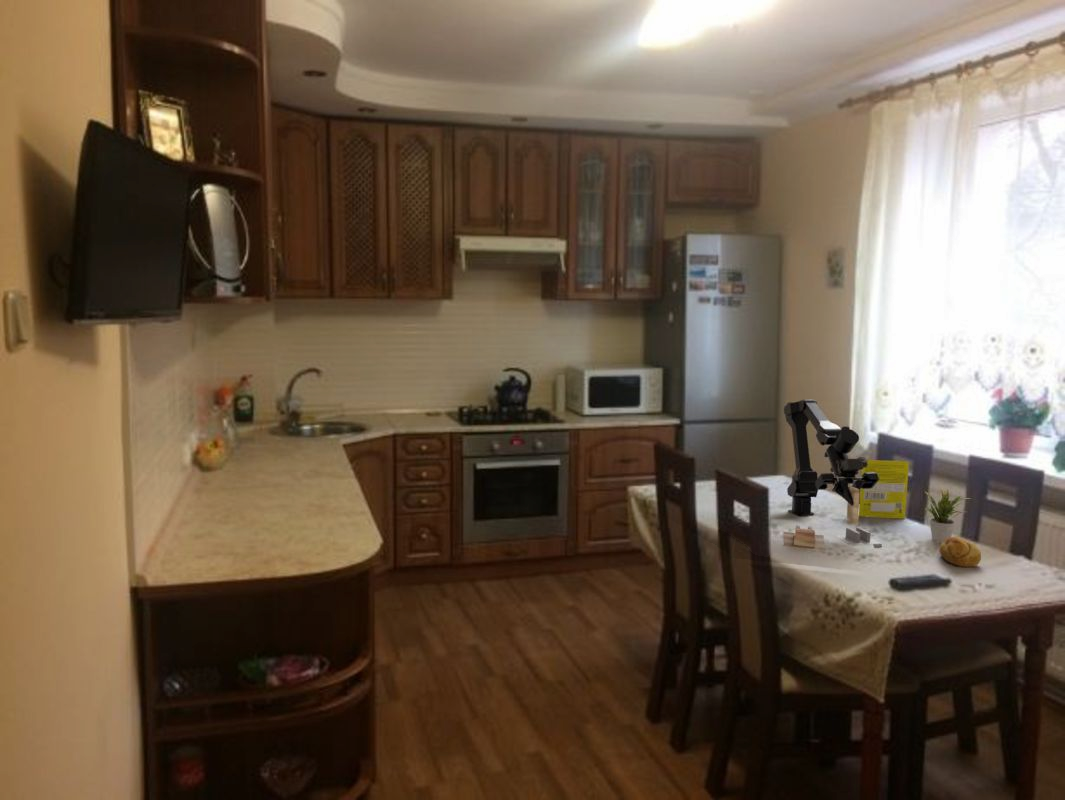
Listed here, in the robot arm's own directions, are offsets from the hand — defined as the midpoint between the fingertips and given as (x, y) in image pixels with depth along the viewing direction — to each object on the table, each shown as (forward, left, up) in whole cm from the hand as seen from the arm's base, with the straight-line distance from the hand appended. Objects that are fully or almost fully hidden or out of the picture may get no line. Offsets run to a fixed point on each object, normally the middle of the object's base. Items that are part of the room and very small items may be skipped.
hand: (855, 504), depth 254 cm
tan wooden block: (-1, 0, -6) cm, 6 cm away
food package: (-23, +30, -13) cm, 40 cm away
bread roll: (+22, +19, -13) cm, 32 cm away
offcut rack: (-5, -14, -12) cm, 20 cm away
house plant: (+5, +30, -13) cm, 33 cm away
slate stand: (-1, +2, -12) cm, 13 cm away
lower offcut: (-1, -17, -11) cm, 20 cm away
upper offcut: (-1, -17, -9) cm, 19 cm away
